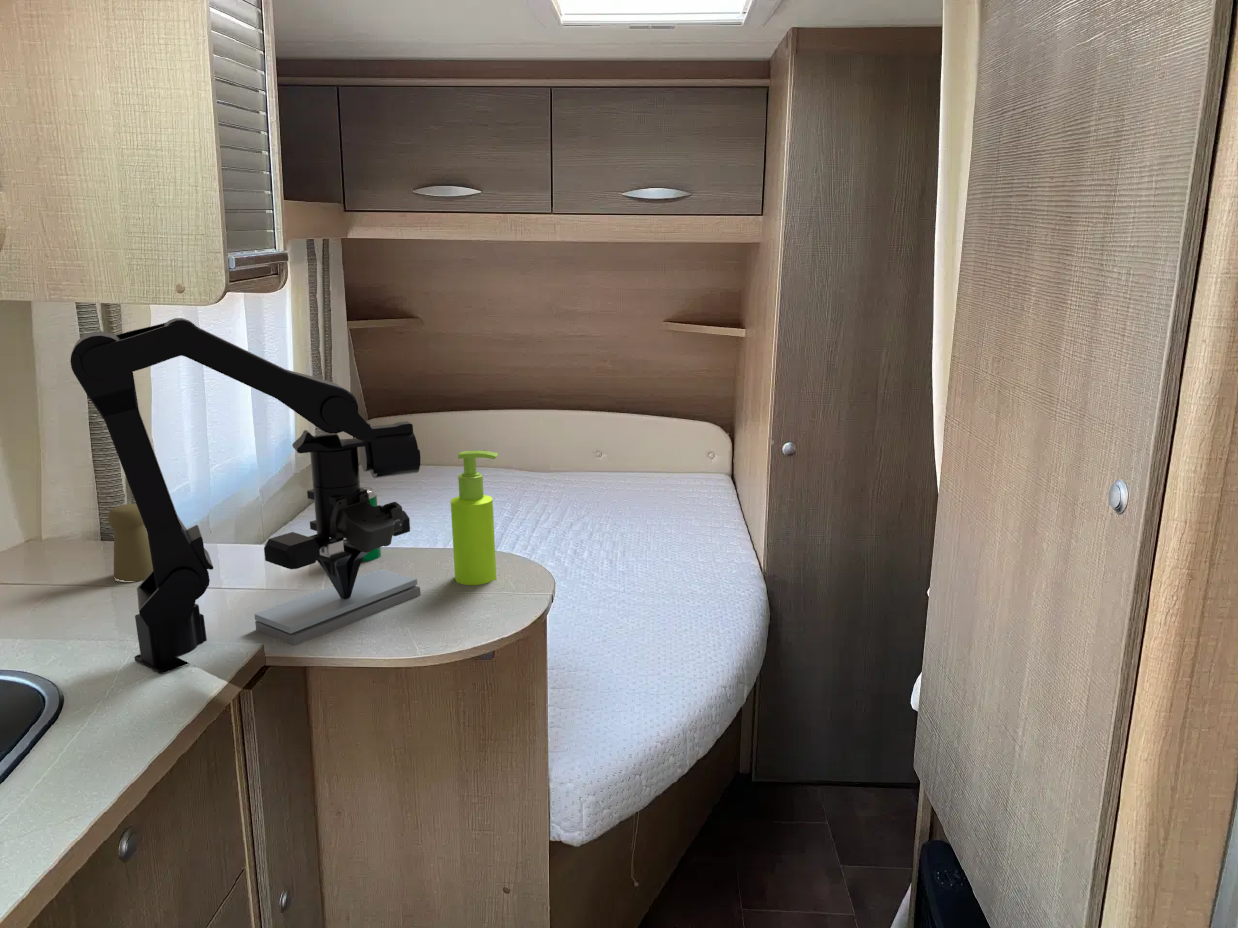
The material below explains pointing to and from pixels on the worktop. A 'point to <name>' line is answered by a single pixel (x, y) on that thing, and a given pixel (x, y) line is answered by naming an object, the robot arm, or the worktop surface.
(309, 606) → the cover
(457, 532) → the soap dispenser
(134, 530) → the cork
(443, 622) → the worktop surface
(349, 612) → the grey rectangular tray
